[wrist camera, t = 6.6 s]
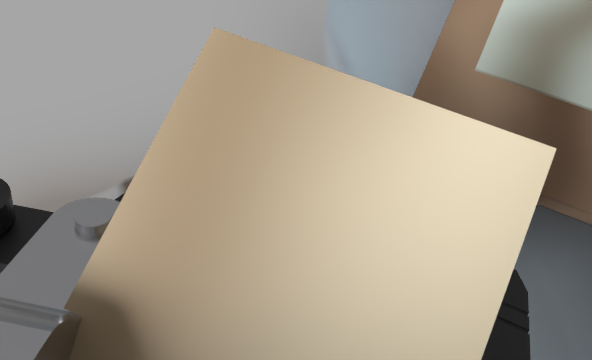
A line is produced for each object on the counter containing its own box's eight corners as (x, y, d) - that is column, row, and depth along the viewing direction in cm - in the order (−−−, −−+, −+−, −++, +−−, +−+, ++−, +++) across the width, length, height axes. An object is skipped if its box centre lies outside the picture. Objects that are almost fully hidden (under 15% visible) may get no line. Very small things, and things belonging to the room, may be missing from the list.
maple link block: (427, 245, 15) (560, 146, 5) (373, 382, 14) (411, 566, 4) (300, 191, 16) (213, 24, 6) (242, 316, 15) (39, 348, 5)
